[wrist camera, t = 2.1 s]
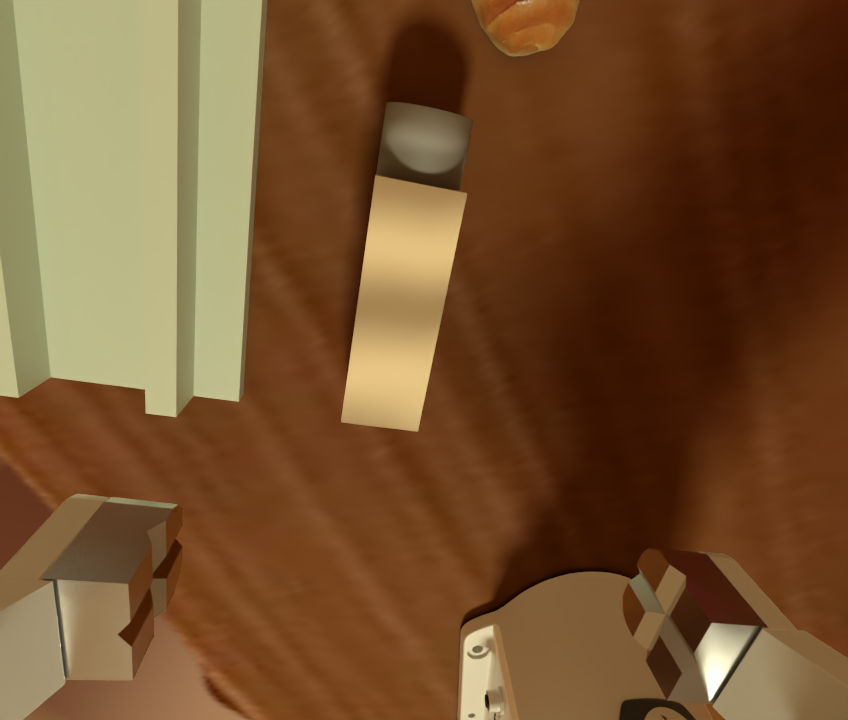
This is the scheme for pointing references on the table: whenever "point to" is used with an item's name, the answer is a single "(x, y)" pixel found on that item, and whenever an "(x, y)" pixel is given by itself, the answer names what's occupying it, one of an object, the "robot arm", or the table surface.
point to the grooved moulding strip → (128, 193)
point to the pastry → (525, 23)
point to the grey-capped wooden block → (406, 264)
